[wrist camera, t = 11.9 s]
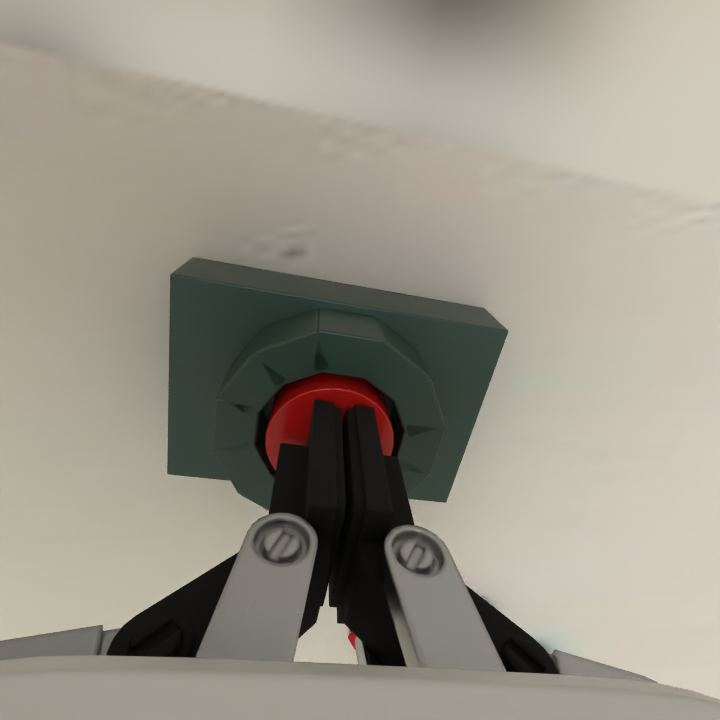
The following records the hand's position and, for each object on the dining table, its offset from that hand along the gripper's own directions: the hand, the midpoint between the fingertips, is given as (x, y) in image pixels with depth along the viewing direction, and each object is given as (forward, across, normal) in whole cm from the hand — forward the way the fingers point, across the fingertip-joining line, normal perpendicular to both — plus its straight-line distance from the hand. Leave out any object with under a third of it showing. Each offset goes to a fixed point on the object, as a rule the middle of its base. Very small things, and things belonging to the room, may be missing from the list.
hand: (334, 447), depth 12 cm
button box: (+4, 0, 0) cm, 4 cm away
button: (+2, 0, 0) cm, 2 cm away
